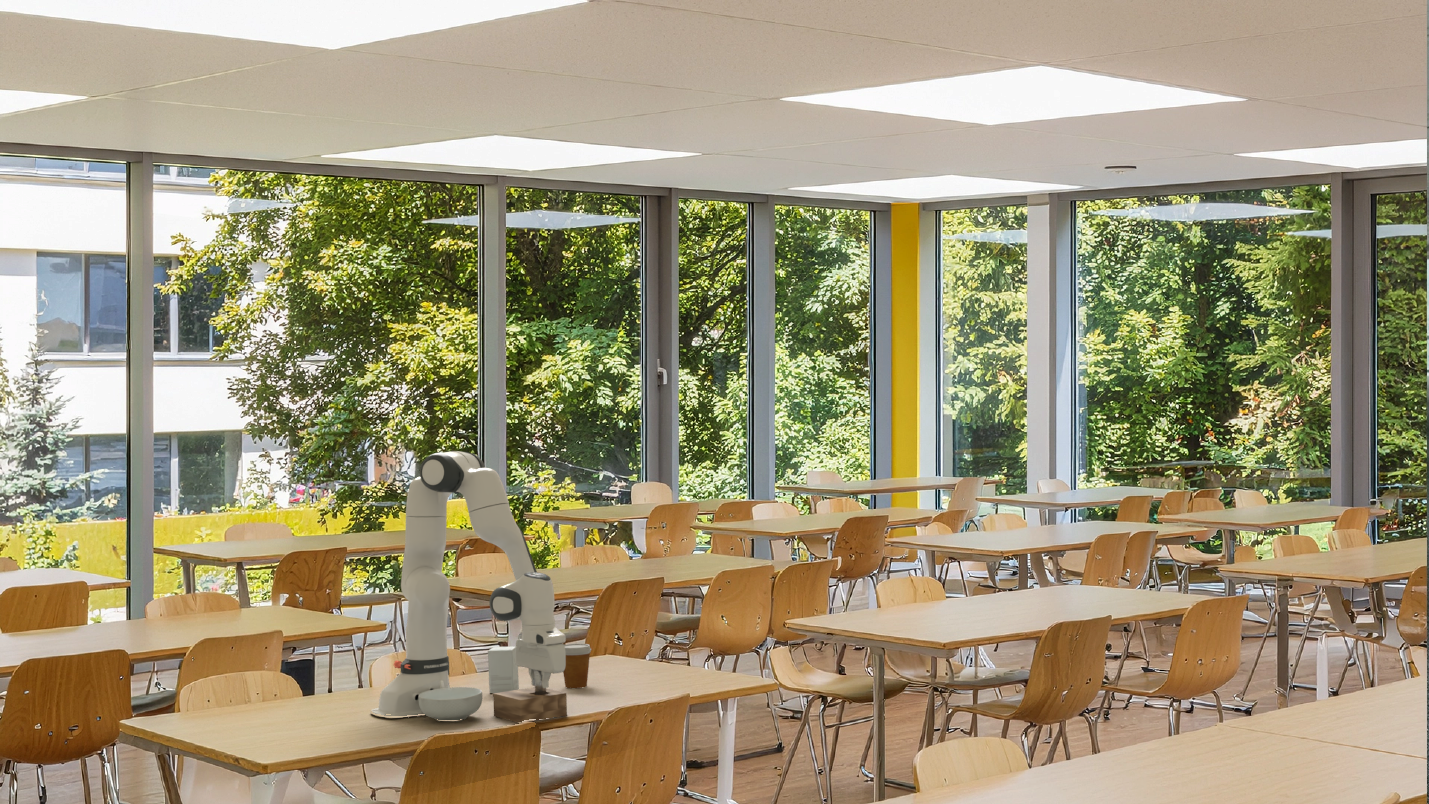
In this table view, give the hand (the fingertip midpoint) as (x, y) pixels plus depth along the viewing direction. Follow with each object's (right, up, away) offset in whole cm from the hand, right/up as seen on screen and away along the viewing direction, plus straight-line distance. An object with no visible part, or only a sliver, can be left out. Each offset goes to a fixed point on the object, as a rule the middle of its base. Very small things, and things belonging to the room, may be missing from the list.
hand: (540, 686), depth 392 cm
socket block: (-3, -8, 0) cm, 8 cm away
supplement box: (-15, -9, +39) cm, 42 cm away
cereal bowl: (-23, -9, -1) cm, 25 cm away
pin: (0, -4, 0) cm, 4 cm away
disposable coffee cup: (+5, -9, +43) cm, 45 cm away
